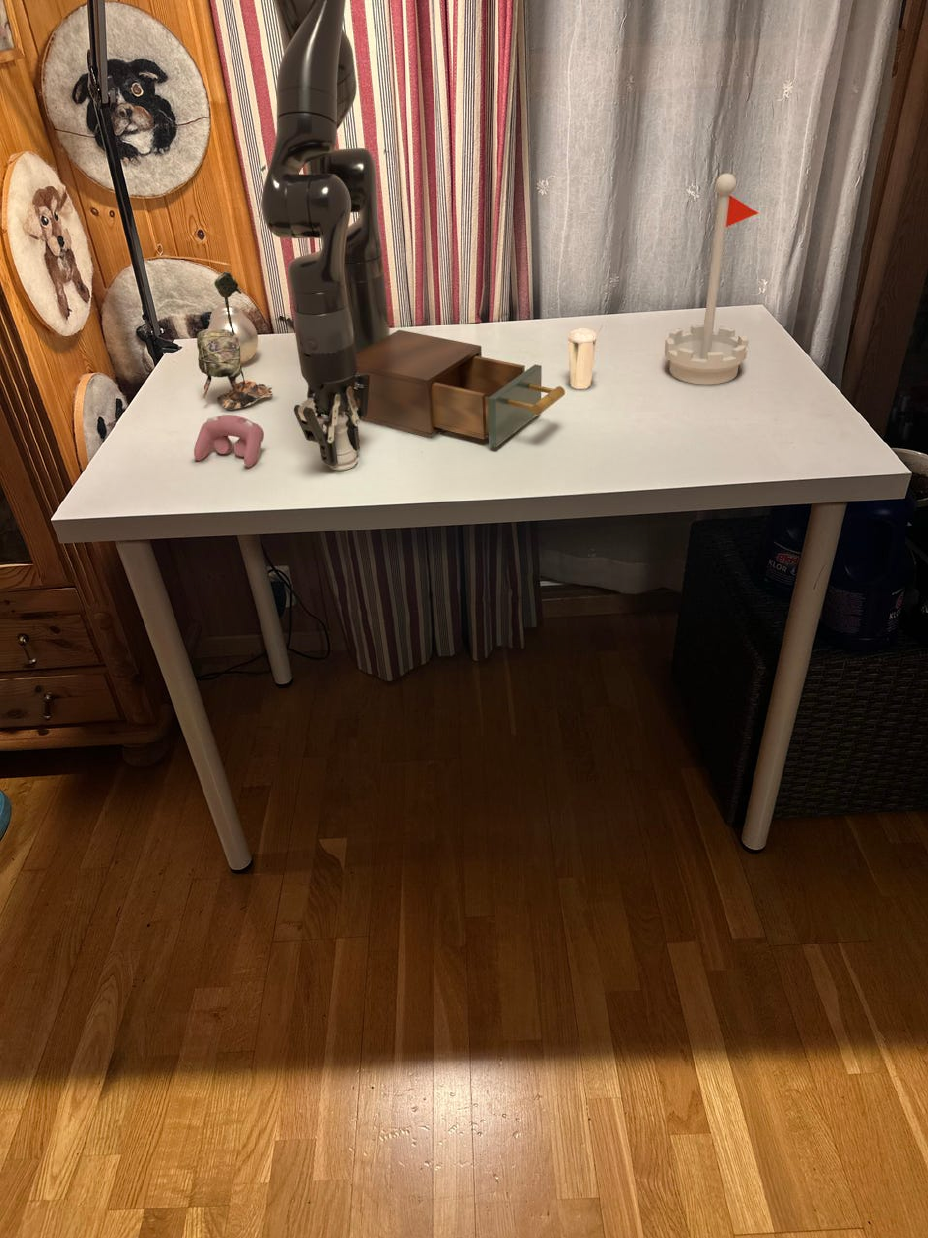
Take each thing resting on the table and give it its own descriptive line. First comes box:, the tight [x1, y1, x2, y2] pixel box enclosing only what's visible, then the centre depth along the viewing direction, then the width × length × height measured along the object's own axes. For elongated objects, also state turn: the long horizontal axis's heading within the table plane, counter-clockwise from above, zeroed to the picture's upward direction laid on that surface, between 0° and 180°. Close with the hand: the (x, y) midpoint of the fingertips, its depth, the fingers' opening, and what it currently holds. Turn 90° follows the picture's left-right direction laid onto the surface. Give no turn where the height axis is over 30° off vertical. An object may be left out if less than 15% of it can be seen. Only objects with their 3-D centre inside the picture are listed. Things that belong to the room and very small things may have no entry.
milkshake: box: [567, 325, 603, 390], centre depth 147 cm, size 4×5×10 cm
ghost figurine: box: [207, 303, 259, 365], centre depth 161 cm, size 9×10×10 cm
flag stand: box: [664, 173, 759, 386], centre depth 143 cm, size 13×13×30 cm
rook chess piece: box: [325, 411, 359, 472], centre depth 130 cm, size 4×4×8 cm
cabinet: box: [356, 329, 483, 439], centre depth 143 cm, size 16×15×9 cm
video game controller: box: [193, 414, 265, 468], centre depth 134 cm, size 10×5×7 cm, turn 71°
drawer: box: [431, 355, 566, 448], centre depth 136 cm, size 20×13×7 cm, turn 57°
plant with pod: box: [194, 270, 273, 411], centre depth 145 cm, size 8×11×20 cm
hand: (341, 456), depth 131 cm, fingers closed on rook chess piece, 4 cm apart
